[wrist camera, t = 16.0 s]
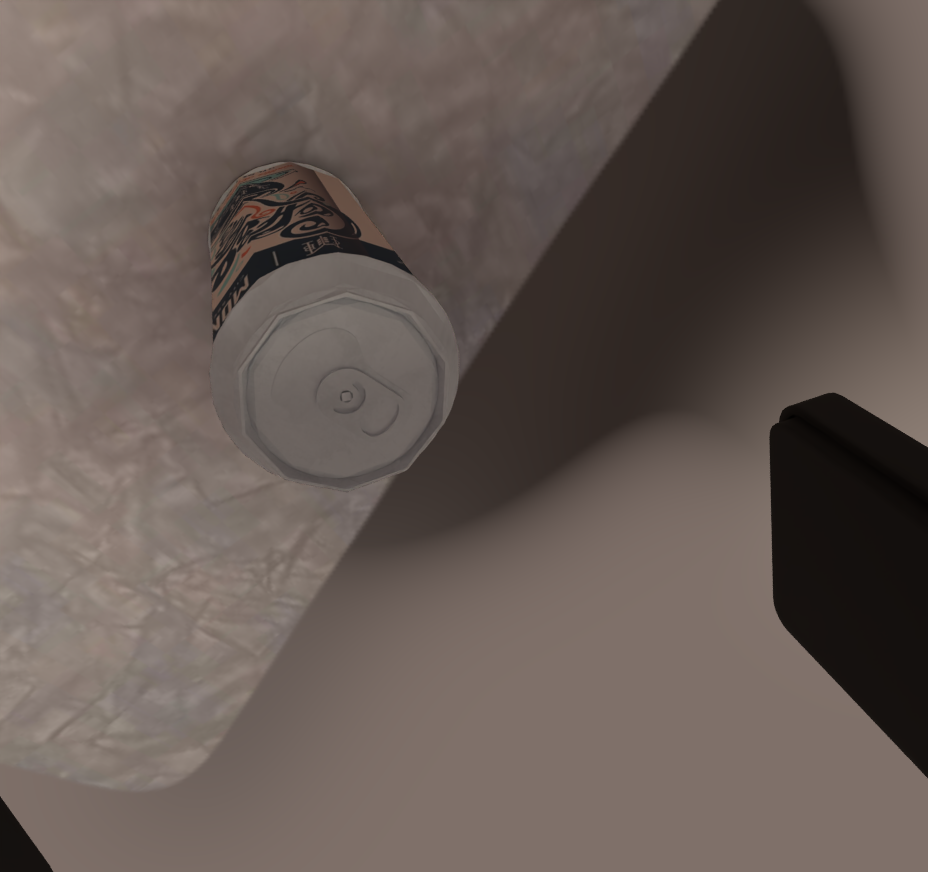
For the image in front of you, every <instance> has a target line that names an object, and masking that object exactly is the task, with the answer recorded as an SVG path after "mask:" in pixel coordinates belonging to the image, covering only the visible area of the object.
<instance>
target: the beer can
mask: <svg viewBox="0 0 928 872" xmlns="http://www.w3.org/2000/svg"><path fill="white" fill-rule="evenodd" d="M208 246H209V253H210V260H211V279H212V319H213V349H212V356H211V364H210V372H209V375H210V383H211V390H212V397H213V404H214V407H215V409H216V412H217V414H218V417H219V419H220V421H221V423H222V425H223V428H224V429H225V431H226V432H227V434H228V435H229V437H230V438H231V440H232V441H233V442H234V443H235V444H236V445H237V446H238V448H239V449H240V450H241V451H242V452H243V453H244V454H245V455H246V456H247V457H248V458H250V459H251V460H253V461H254V462H256V463H257V464H258V465H260V466H261V467H263V468H264V469H266V470H267V471H268V472H270V473H272V474H274V475H277V476H280V477H283V478H284V479H285V480H288V481H293V482H296V483H299V484H306V485H311V486H315V487H320V488H328V489H333V490H338V491H343V492H349V491H352V490H355V489H357V488H360V487H363V486H366V485H368V484H371V483H374V482H377V481H379V480H382V479H385V478H388V477H390V476H393V475H396V474H398V473H401V472H404V471H406V470H408V468H409V467H410V466H411V465H412V463H413V462H414V461H415V460H416V458H417V457H418V456H419V455H420V453H421V452H422V451H424V449H425V448H426V447H427V446H428V444H429V443H430V442H431V441H432V440H433V439H434V437H435V435H436V434H437V432H438V431H439V429H440V428H441V427H442V426H443V424H444V423H445V420H446V418H447V417H448V415H449V413H450V411H451V408H452V405H453V402H454V399H455V395H456V392H457V387H458V380H459V350H458V346H457V342H456V337H455V334H454V330H453V327H452V325H451V323H450V320H449V318H448V316H447V314H446V312H445V311H444V310H443V308H442V307H441V305H440V304H439V302H438V301H437V299H436V298H435V297H434V295H433V294H432V293H431V292H430V291H429V290H428V289H427V288H426V287H425V286H424V285H422V284H421V283H420V282H419V281H418V280H417V279H416V278H415V277H414V276H413V275H412V273H411V272H410V271H409V269H408V268H407V267H406V266H405V264H404V263H403V262H402V260H401V259H400V258H399V256H398V255H397V254H396V253H395V251H394V250H393V249H392V247H391V246H390V245H389V243H388V242H387V241H386V240H385V238H384V237H383V236H382V234H381V233H380V232H379V230H378V229H377V228H376V227H375V225H374V224H373V223H372V221H371V220H370V219H369V217H368V216H367V215H366V214H365V212H364V210H363V208H362V206H361V204H360V202H359V201H358V200H357V198H356V197H355V196H354V194H353V193H352V192H351V190H350V189H349V188H348V187H347V186H346V185H345V184H344V183H343V182H342V181H341V180H339V179H338V178H337V177H335V176H333V175H332V174H330V173H329V172H327V171H325V170H322V169H319V168H317V167H314V166H312V165H309V164H302V163H296V162H277V163H273V164H269V165H265V166H261V167H257V168H255V169H253V170H251V171H249V172H248V173H246V174H245V175H243V176H241V177H239V178H238V179H237V180H236V181H234V182H233V184H232V185H231V186H230V187H229V188H228V189H227V191H226V192H225V193H224V194H223V195H222V197H221V199H220V200H219V202H218V204H217V206H216V208H215V210H214V212H213V214H212V216H211V219H210V223H209V231H208Z"/></svg>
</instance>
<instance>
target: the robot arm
mask: <svg viewBox="0 0 928 872" xmlns="http://www.w3.org/2000/svg"><path fill="white" fill-rule="evenodd" d="M770 476H771V477H770V480H771V522H772V564H773V565H772V566H773V599H774V606H775V609H776V612H777V614H778V617H779V619H780V620H781V622H782V624H783V625H784V627H785V628H786V629H787V630H788V631H789V632H790V633H791V635H792V636H793V637H794V638H795V639H796V640H797V641H798V642H799V643H800V644H801V645H802V646H803V647H804V648H805V649H806V650H807V651H808V653H809V654H810V655H811V656H812V657H813V658H814V659H815V660H816V661H817V662H818V663H819V664H820V665H821V666H822V667H823V668H824V669H825V670H826V671H827V672H828V674H829V675H830V676H831V677H832V678H833V679H834V680H835V681H836V682H837V683H838V684H839V685H840V686H841V687H842V688H843V689H844V690H845V691H846V692H847V694H848V695H849V696H850V697H851V698H852V699H853V700H854V701H855V702H856V703H857V704H858V705H859V706H860V707H861V708H862V709H863V710H864V711H865V713H866V714H867V715H868V716H869V717H870V718H871V719H872V720H873V721H874V722H875V723H876V724H877V725H878V726H879V727H880V728H881V729H882V730H883V731H884V733H886V734H887V736H888V737H890V739H891V740H892V741H893V742H894V743H895V744H896V745H897V746H898V747H899V748H900V749H901V750H902V752H904V754H905V755H906V756H907V757H908V758H909V759H910V760H911V761H912V762H913V763H914V764H915V765H916V766H917V767H918V768H919V769H920V770H921V771H922V773H923V774H924V775H925V776H926V777H927V778H928V447H926V446H924V445H923V444H921V443H920V442H918V441H916V440H915V439H913V438H911V437H910V436H908V435H906V434H905V433H903V432H901V431H900V430H898V429H896V428H895V427H893V426H891V425H890V424H888V423H886V422H885V421H883V420H881V419H880V418H878V417H876V416H875V415H873V414H871V413H870V412H868V411H866V410H865V409H863V408H861V407H860V406H858V405H856V404H855V403H853V402H852V401H850V400H848V399H847V398H845V397H843V396H841V395H839V394H836V393H827V394H824V395H821V396H818V397H815V398H812V399H809V400H806V401H803V402H800V403H797V404H794V405H791V406H788V407H787V408H785V409H784V410H783V411H782V413H781V416H780V420H779V423H777V424H775V425H774V426H772V428H771V430H770ZM0 872H53V871H52V869H51V868H50V865H49V864H48V863H47V861H46V860H45V859H44V857H43V855H42V854H41V853H40V851H39V850H38V849H37V847H36V846H35V844H34V843H33V842H32V840H31V839H30V837H29V836H28V835H27V833H26V832H25V831H24V829H23V828H22V826H21V825H20V823H19V822H18V821H17V819H16V818H15V816H14V815H13V814H12V812H11V811H10V809H9V808H8V807H7V805H6V804H5V802H4V801H3V800H2V798H1V797H0Z"/></svg>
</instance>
